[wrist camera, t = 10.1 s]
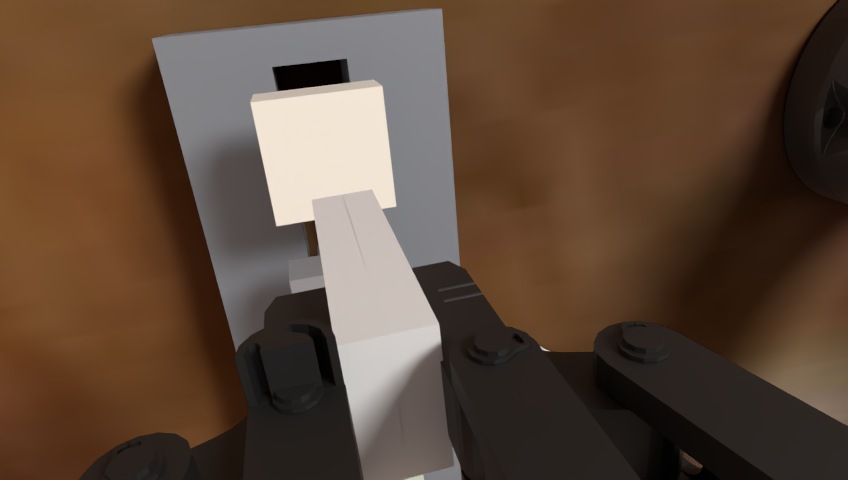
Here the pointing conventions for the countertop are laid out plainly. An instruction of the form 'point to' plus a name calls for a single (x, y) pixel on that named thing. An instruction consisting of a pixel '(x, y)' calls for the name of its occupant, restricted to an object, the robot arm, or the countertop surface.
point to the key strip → (242, 161)
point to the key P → (323, 146)
